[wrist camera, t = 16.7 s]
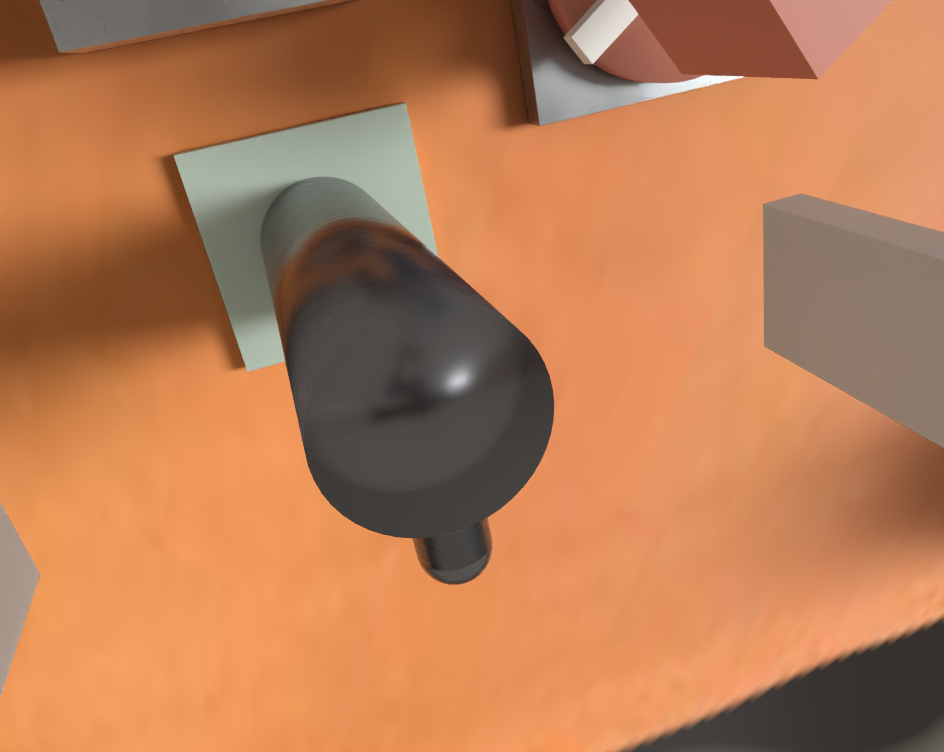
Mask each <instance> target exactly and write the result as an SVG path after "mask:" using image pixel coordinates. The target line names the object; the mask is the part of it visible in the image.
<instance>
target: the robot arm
mask: <svg viewBox="0 0 944 752" xmlns="http://www.w3.org/2000/svg"><path fill="white" fill-rule="evenodd" d="M763 246H764V346H765V347H767V348H768V349H770V350H772V351H774V352H775V353H777V354H779V355H781V356H782V357H784V358H786V359H788V360H789V361H791V362H793V363H795V364H796V365H798V366H800V367H802V368H803V369H805V370H807V371H809V372H810V373H812V374H814V375H816V376H818V377H819V378H821V379H823V380H825V381H826V382H828V383H830V384H832V385H833V386H835V387H837V388H839V389H840V390H842V391H844V392H846V393H847V394H849V395H851V396H853V397H854V398H856V399H858V400H860V401H861V402H863V403H865V404H867V405H869V406H870V407H872V408H874V409H876V410H877V411H879V412H881V413H883V414H884V415H886V416H888V417H890V418H891V419H893V420H895V421H897V422H898V423H900V424H902V425H904V426H905V427H907V428H909V429H911V430H912V431H914V432H916V433H918V434H919V435H921V436H923V437H925V438H927V439H928V440H930V441H932V442H934V443H935V444H937V445H939V446H941V447H942V448H944V232H941V231H937V230H933V229H930V228H926V227H922V226H918V225H915V224H911V223H907V222H904V221H900V220H896V219H893V218H889V217H885V216H882V215H878V214H874V213H871V212H867V211H863V210H860V209H856V208H852V207H849V206H845V205H841V204H838V203H834V202H830V201H827V200H823V199H819V198H816V197H812V196H808V195H805V194H798V195H794V196H791V197H787V198H783V199H780V200H776V201H772V202H769V203H765V204H763ZM39 577H40V573H39V571H38V569H37V567H36V566H35V564H34V562H33V560H32V558H31V557H30V555H29V553H28V551H27V549H26V548H25V546H24V544H23V542H22V540H21V539H20V537H19V535H18V533H17V531H16V529H15V528H14V526H13V524H12V522H11V520H10V519H9V517H8V515H7V513H6V511H5V510H4V508H3V506H2V504H1V502H0V697H1V694H2V691H3V688H4V684H5V681H6V678H7V675H8V672H9V669H10V666H11V663H12V660H13V657H14V654H15V651H16V647H17V644H18V641H19V638H20V635H21V632H22V629H23V626H24V623H25V620H26V617H27V614H28V610H29V607H30V604H31V601H32V598H33V595H34V592H35V589H36V586H37V583H38V580H39Z"/></svg>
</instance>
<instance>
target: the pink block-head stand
mask: <svg viewBox="0 0 944 752" xmlns="http://www.w3.org/2000/svg"><path fill="white" fill-rule="evenodd" d="M892 1H893V0H548V3H549V6H550V8H551V11H552V13H553V15H554V17H555V19H556V21H557V23H558V25H559V27H560V28H561V30H562V31H563V33H564V34H565V36H564V37H563V38H564V39H565V41H566V42H567V43H568V44H569V46H570V47H571V48H572V49H573V51H574V52H575V53H576V54H577V56H578V57H579V58H580V60H581V61H582V62H583V63H584V64H594V65H595V66H597V67H599V68H600V69H602V70H604V71H605V72H607V73H610V74H612V75H614V76H617V77H619V78H623V79H627V80H631V81H636V82H648V83H678V82H684V81H688V80H692V79H696V78H699V77H701V76H704V75H713V76H742V77H771V78H800V79H819V78H820V77H821V76H822V75H823V74H824V73H825V71H826V70H827V69H828V68H829V67H830V66H831V65H832V64H833V63H834V62H835V61H836V60H837V59H838V58H839V57H840V56H841V55H842V54H843V52H844V51H845V50H846V49H847V48H848V47H849V46H850V45H851V44H852V43H853V42H854V41H855V40H856V39H857V38H858V37H859V36H860V35H861V33H862V32H863V31H864V30H865V29H866V28H867V27H868V26H869V25H870V24H871V23H872V22H873V21H874V20H875V19H876V18H877V17H878V16H879V14H880V13H881V12H882V11H883V10H884V9H885V8H886V7H887V6H888V5H889V4H890V3H891V2H892Z"/></svg>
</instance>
